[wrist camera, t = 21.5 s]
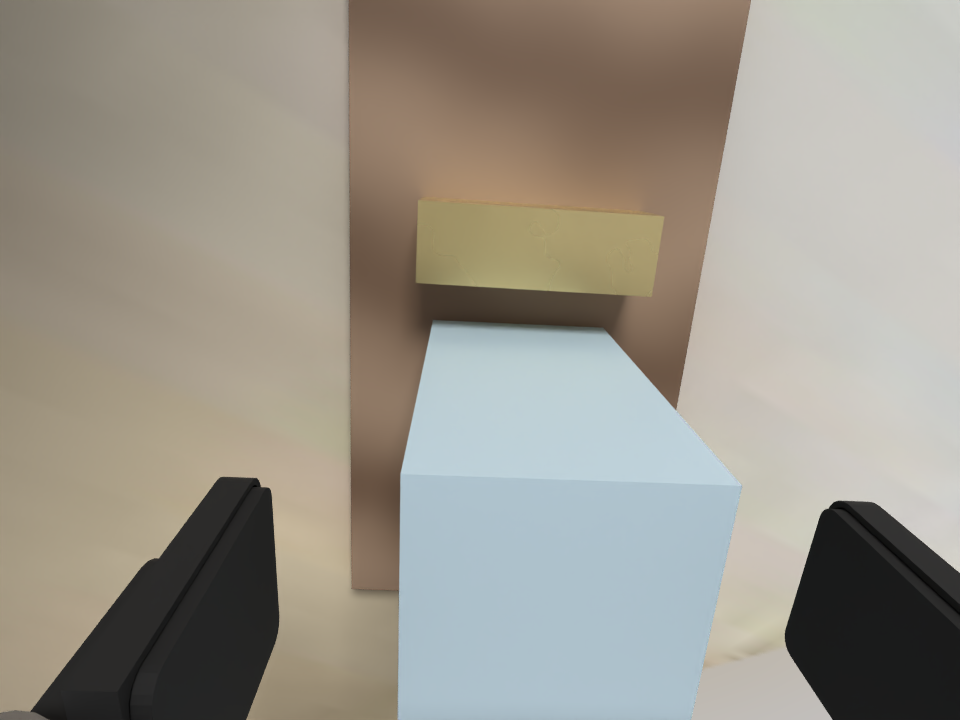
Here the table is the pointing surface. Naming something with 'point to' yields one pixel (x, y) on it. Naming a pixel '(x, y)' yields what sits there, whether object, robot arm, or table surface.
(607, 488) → the painted block
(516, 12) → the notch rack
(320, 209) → the table surface
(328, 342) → the table surface
